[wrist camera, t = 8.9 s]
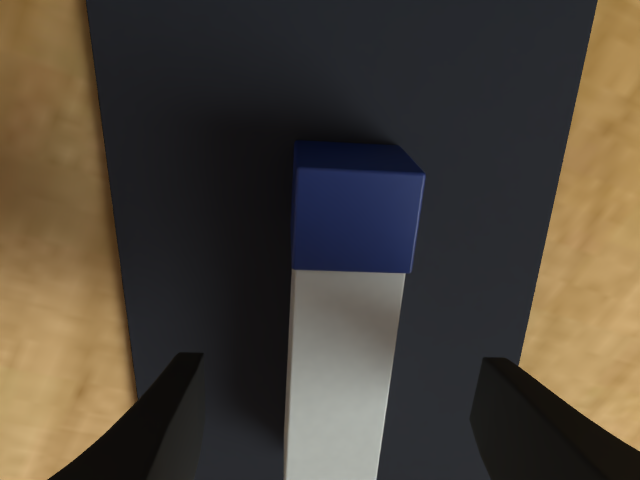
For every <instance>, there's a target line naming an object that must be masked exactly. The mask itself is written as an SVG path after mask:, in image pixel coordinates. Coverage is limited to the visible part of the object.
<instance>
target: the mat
mask: <svg viewBox="0 0 640 480" xmlns="http://www.w3.org/2000/svg"><path fill="white" fill-rule="evenodd" d="M597 1H598V0H86V6H87V13H88V21H89V29H90V36H91V44H92V52H93V59H94V67H95V75H96V82H97V90H98V98H99V105H100V113H101V121H102V128H103V136H104V144H105V151H106V159H107V167H108V174H109V182H110V190H111V197H112V205H113V213H114V220H115V228H116V236H117V243H118V251H119V259H120V266H121V274H122V282H123V289H124V297H125V305H126V312H127V320H128V328H129V335H130V343H131V351H132V358H133V366H134V374H135V381H136V389H137V397H138V399H139V398H140V397H141V396H142V395H143V394H144V393H145V392H146V390H147V389H148V388H149V387H150V386H151V385H152V384H153V382H154V381H155V380H156V379H157V378H158V377H159V375H160V374H161V373H162V372H163V370H164V369H165V368H166V367H167V365H168V364H169V363H170V362H171V360H172V359H173V358H174V356H175V355H177V354H178V353H179V352H192V353H204V378H205V415H206V418H205V425H204V432H203V439H202V446H201V452H200V457H199V461H198V465H197V469H196V473H195V476H194V480H284V423H285V402H286V381H287V360H288V339H289V318H290V297H291V276H292V267H291V203H292V181H293V159H294V143H295V141H297V140H304V141H324V142H343V143H363V144H382V145H398V146H400V147H401V148H402V149H403V150H404V151H405V152H406V153H407V154H408V155H409V156H410V157H411V158H412V159H413V161H414V162H415V163H416V164H417V165H418V166H419V167H420V168H421V169H422V170H423V171H424V172H425V174H426V179H425V186H424V192H423V199H422V206H421V213H420V220H419V226H418V233H417V240H416V247H415V254H414V261H413V267H412V271H411V273H409V274H408V273H406V274H405V281H404V288H403V295H402V302H401V309H400V317H399V324H398V331H397V338H396V345H395V352H394V359H393V366H392V373H391V380H390V387H389V394H388V401H387V408H386V415H385V422H384V429H383V436H382V443H381V450H380V457H379V465H378V472H377V479H376V480H491V478H490V476H489V474H488V472H487V469H486V467H485V465H484V463H483V460H482V458H481V456H480V453H479V450H478V447H477V444H476V441H475V437H474V434H473V430H472V427H471V424H470V420H469V418H470V413H471V409H472V404H473V400H474V395H475V391H476V386H477V382H478V377H479V373H480V368H481V364H482V359H483V357H503V358H507V359H509V360H510V361H512V362H513V363H514V364H516V365H517V366H518V365H519V361H520V356H521V352H522V347H523V342H524V338H525V333H526V328H527V324H528V319H529V315H530V310H531V305H532V301H533V296H534V292H535V287H536V282H537V278H538V273H539V268H540V264H541V259H542V255H543V250H544V245H545V241H546V236H547V232H548V227H549V222H550V218H551V213H552V208H553V204H554V199H555V195H556V190H557V185H558V181H559V176H560V172H561V167H562V162H563V158H564V153H565V148H566V144H567V139H568V135H569V130H570V125H571V121H572V116H573V112H574V107H575V102H576V98H577V93H578V88H579V84H580V79H581V75H582V70H583V65H584V61H585V56H586V52H587V47H588V42H589V38H590V33H591V28H592V24H593V19H594V15H595V10H596V5H597Z"/></svg>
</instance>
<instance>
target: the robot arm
mask: <svg viewBox="0 0 640 480" xmlns="http://www.w3.org/2000/svg"><path fill="white" fill-rule="evenodd" d="M205 418H206V415H205V378H204V353H192V352H179V353H178V354H177V355H175V356H174V358H173V359H172V360H171V362H170V363H169V364H168V365H167V367H166V368H165V369H164V370H163V372H162V373H161V374H160V375H159V377H158V378H157V379H156V380H155V381H154V382H153V384H152V385H151V386H150V387H149V388H148V389H147V390H146V392H145V393H144V394H143V395H142V396H141V397H140V398H139V399H138V400H137V402H136V403H135V404H134V405H133V406H132V407H131V408H130V409H129V410H128V411H127V412H126V413H125V414H124V415H123V416H122V417H121V418H120V419H119V420H118V421H117V422H116V423H115V424H114V425H113V426H112V427H111V428H110V429H109V430H108V431H107V432H106V433H105V434H104V435H103V436H101V437H100V438H99V439H98V440H97V441H96V442H95V443H94V444H93V445H91V446H90V447H89V448H88V449H87V450H85V451H84V452H83V453H82V454H81V455H80V456H78V457H77V458H76V459H75V460H73V461H72V462H71V463H70V464H68V465H67V466H66V467H64V468H63V469H62V470H60V471H59V472H57V473H56V474H55V475H53V476H52V477H50V478H49V479H48V480H194V476H195V473H196V469H197V465H198V461H199V457H200V452H201V446H202V439H203V432H204V425H205ZM469 420H470V424H471V427H472V430H473V434H474V437H475V441H476V444H477V447H478V450H479V453H480V456H481V458H482V460H483V463H484V465H485V467H486V469H487V472H488V474H489V476H490V478H491V480H640V451H638V450H636V449H635V448H633V447H631V446H629V445H628V444H626V443H624V442H623V441H621V440H620V439H618V438H617V437H615V436H613V435H612V434H610V433H609V432H607V431H606V430H604V429H603V428H601V427H600V426H599V425H597V424H596V423H594V422H593V421H591V420H590V419H588V418H587V417H585V416H584V415H583V414H581V413H580V412H578V411H577V410H576V409H574V408H573V407H571V406H570V405H569V404H567V403H566V402H565V401H563V400H562V399H561V398H559V397H558V396H557V395H555V394H554V393H553V392H551V391H550V390H549V389H547V388H546V387H545V386H544V385H542V384H541V383H540V382H538V381H537V380H536V379H534V378H533V377H532V376H531V375H529V374H528V373H527V372H525V371H524V370H523V369H521V368H520V367H519V366H517V365H516V364H514V363H513V362H512V361H510V360H509V359H507V358H503V357H483V359H482V364H481V368H480V373H479V377H478V382H477V386H476V391H475V395H474V400H473V404H472V409H471V413H470V418H469Z"/></svg>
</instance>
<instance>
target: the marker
mask: <svg viewBox="0 0 640 480" xmlns="http://www.w3.org/2000/svg"><path fill="white" fill-rule="evenodd" d="M425 179H426V174H425V172H424V171H423V170H422V169H421V168H420V167H419V166H418V165H417V164H416V163H415V162H414V161H413V159H412V158H411V157H410V156H409V155H408V154H407V153H406V152H405V151H404V150H403V149H402V148H401V147H400V146H398V145H382V144H363V143H343V142H324V141H304V140H297V141H295V143H294V159H293V181H292V203H291V267H292V276H291V297H290V318H289V339H288V360H287V381H286V402H285V423H284V480H376V479H377V472H378V465H379V457H380V450H381V443H382V436H383V429H384V422H385V415H386V408H387V401H388V394H389V387H390V380H391V373H392V366H393V359H394V352H395V345H396V338H397V331H398V324H399V317H400V309H401V302H402V295H403V288H404V281H405V274H406V273H408V274H409V273H411V271H412V267H413V261H414V254H415V247H416V240H417V233H418V226H419V220H420V213H421V206H422V199H423V192H424V186H425Z"/></svg>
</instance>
